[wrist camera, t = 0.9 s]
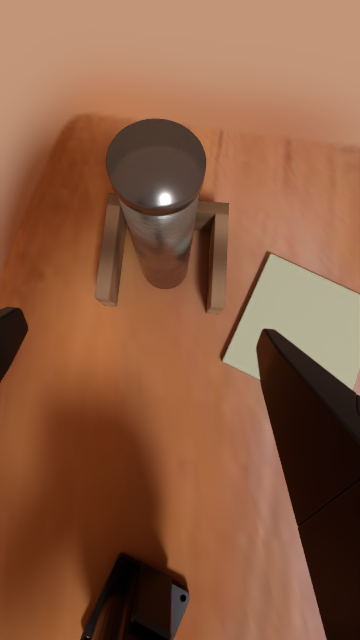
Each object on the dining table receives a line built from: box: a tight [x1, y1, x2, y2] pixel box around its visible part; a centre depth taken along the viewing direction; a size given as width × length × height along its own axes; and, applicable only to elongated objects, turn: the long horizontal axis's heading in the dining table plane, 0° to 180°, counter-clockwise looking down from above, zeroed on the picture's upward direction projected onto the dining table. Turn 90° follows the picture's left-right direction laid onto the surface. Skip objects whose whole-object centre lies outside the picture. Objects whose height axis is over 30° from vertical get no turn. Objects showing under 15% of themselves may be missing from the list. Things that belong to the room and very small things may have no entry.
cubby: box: [94, 193, 229, 314], centre depth 22 cm, size 10×11×3 cm
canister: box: [106, 119, 206, 289], centre depth 17 cm, size 5×5×13 cm
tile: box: [222, 254, 360, 390], centre depth 23 cm, size 12×12×1 cm
